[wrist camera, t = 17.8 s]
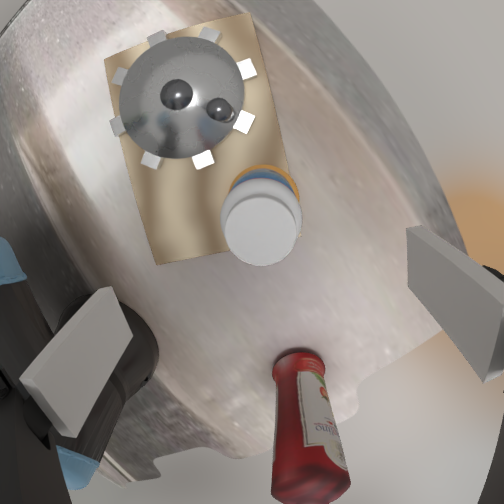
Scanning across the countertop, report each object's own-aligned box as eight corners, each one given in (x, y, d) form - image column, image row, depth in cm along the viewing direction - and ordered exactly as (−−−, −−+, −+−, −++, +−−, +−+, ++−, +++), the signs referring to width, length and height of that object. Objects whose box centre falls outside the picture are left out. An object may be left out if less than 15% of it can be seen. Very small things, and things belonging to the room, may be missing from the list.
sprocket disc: (94, 141, 29) (61, 144, 23) (150, 15, 24) (127, -7, 18) (219, 194, 31) (207, 208, 25) (284, 59, 26) (289, 40, 20)
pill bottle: (219, 187, 30) (193, 216, 20) (274, 156, 29) (278, 167, 18) (251, 239, 32) (243, 291, 21) (304, 210, 31) (324, 249, 20)
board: (159, 261, 35) (156, 265, 34) (108, 61, 27) (103, 59, 26) (300, 232, 33) (301, 236, 32) (250, 16, 25) (249, 12, 24)
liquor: (335, 366, 39) (378, 563, 13) (293, 392, 41) (305, 580, 15) (303, 335, 38) (333, 563, 11) (259, 365, 39) (249, 576, 13)
